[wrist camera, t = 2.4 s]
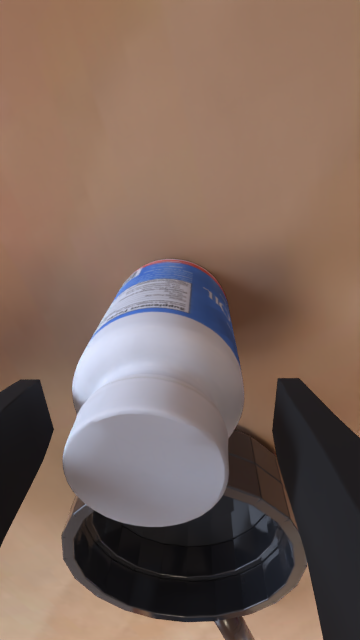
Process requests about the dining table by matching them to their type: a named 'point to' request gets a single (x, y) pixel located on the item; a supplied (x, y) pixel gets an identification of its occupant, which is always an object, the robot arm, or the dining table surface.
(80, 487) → the pill bottle
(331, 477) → the robot arm
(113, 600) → the black shallow round container
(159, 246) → the dining table surface
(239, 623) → the handle
